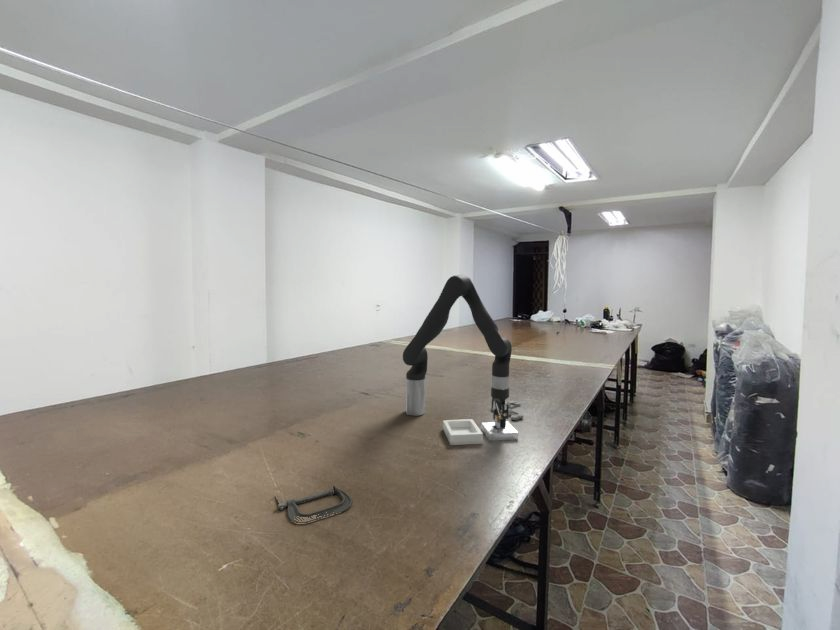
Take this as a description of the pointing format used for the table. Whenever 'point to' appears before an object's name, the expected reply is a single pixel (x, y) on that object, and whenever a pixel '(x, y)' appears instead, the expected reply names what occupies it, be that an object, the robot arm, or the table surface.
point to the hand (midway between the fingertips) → (499, 423)
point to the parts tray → (462, 432)
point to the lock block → (499, 432)
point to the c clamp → (340, 507)
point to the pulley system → (512, 411)
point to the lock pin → (497, 422)
